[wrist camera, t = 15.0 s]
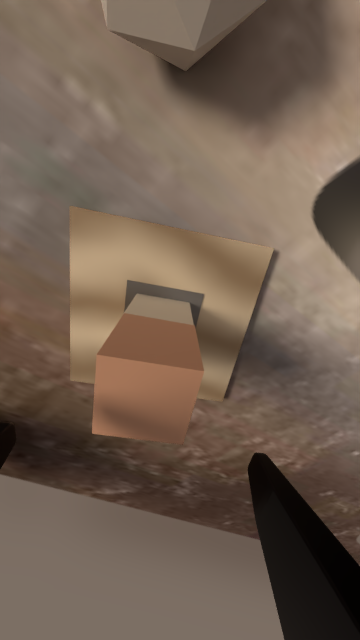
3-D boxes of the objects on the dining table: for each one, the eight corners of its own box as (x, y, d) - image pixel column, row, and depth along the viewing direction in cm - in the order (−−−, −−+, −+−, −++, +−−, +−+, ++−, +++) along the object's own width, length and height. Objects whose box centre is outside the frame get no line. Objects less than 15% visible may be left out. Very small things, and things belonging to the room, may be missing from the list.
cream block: (180, 347, 20) (181, 381, 15) (131, 340, 20) (118, 373, 15) (189, 302, 18) (193, 325, 14) (136, 293, 18) (123, 313, 13)
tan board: (220, 396, 23) (222, 402, 23) (74, 375, 22) (69, 381, 21) (270, 247, 18) (274, 248, 17) (74, 207, 16) (69, 205, 15)
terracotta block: (181, 381, 15) (183, 444, 11) (118, 372, 15) (92, 433, 10) (194, 325, 14) (203, 371, 9) (124, 313, 13) (96, 354, 9)
